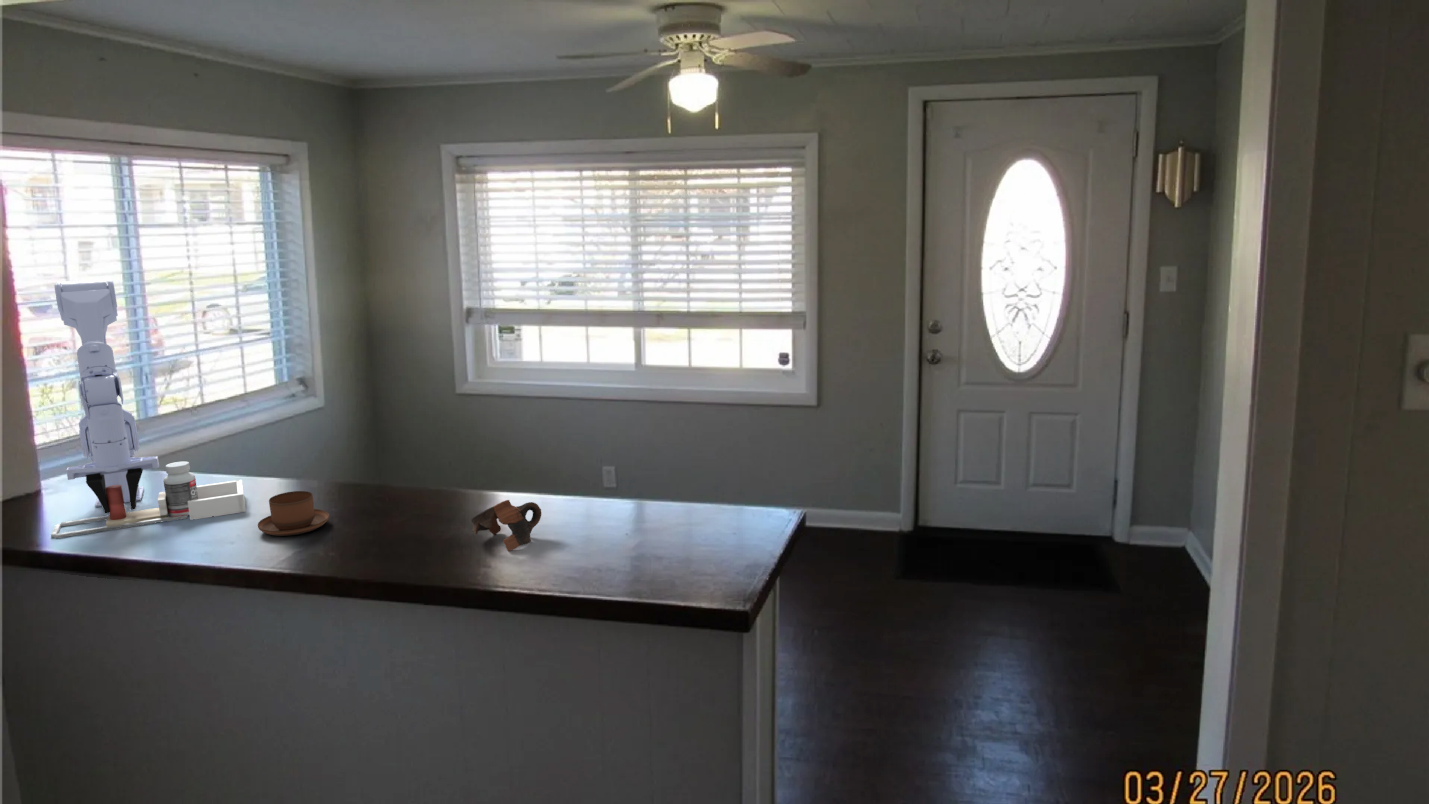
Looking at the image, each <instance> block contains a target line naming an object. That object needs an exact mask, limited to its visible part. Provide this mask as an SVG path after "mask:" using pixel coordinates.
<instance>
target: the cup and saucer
mask: <svg viewBox="0 0 1429 804" xmlns="http://www.w3.org/2000/svg"><path fill="white" fill-rule="evenodd" d="M313 494H314V493H312V492H311V491H306V490H294V491H287V492H281V493H278V494H276V495H273V496H272V497H270V498H269V499H268V503H269V510H270V515H269V516H266V517H264V518H262V519H261V520H260V521H259V522H257V528H258V530H259V531H260V532H262V533H264V534H266V535H271V536H280V537H281V536H282V537H286V536H295V535H301V534H305V533H308V532H311V531H314V530H316V529H318V528H320V527H322V526H323V525H324V524H325V523H327V521H329V518H330V513H329V512H328V511H326V510H324V509H319V508H315V504H314V503H315V502H314V495H313Z"/></svg>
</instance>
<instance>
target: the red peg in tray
mask: <svg viewBox="0 0 1429 804" xmlns="http://www.w3.org/2000/svg"><path fill="white" fill-rule="evenodd" d="M105 491H106V496H107V502H108V507H109V513H108V515H107V516H108V519H107V520H106V523H105V525H106V526H112V525H119V524H125V523H132V522H138V521H145V520H151V519H158V518H165V517H168V516H169V517H170V515H169V513H168V507H167V501H166V494H165V491H159V493H158V497H157V503H158V507H155V508H154V507H153V508H146V509H140V510H131V511H126V506H125V503H124V499H123V493H122V487H121V485H112V486H108V487H106V488H105Z"/></svg>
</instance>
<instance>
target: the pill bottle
mask: <svg viewBox="0 0 1429 804" xmlns="http://www.w3.org/2000/svg"><path fill="white" fill-rule="evenodd" d="M190 465H191V464H190V462H189V461H176V462H171V463H168V464H166V465H165V472H166V474H167V475H166V476H165V477H164V478H163V487H164V492H165V494H166V501H167V507H168V513H169V517H171V516H178V515H184V514H187V516H190V515H189V508H188V501H191V500H198V493H197V487H196V486H197V480H196V476H195V474H194V473H193V472H190V469H191V466H190Z"/></svg>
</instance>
